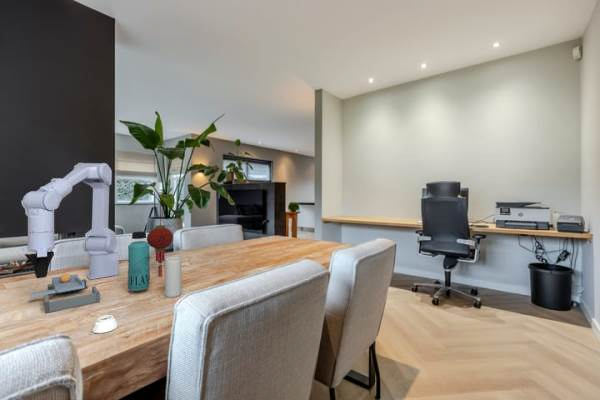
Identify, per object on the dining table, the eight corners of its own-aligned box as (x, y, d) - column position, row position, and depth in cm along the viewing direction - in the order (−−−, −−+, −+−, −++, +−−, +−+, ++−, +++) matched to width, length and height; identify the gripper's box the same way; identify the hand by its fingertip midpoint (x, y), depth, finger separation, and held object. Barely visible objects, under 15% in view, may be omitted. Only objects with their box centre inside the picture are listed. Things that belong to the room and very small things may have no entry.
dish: (94, 294, 90) (94, 285, 90) (99, 302, 84) (99, 292, 84) (44, 304, 82) (44, 294, 82) (45, 313, 75) (45, 303, 75)
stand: (86, 285, 98) (86, 278, 98) (87, 288, 95) (87, 280, 95) (46, 292, 91) (46, 284, 91) (46, 295, 88) (46, 287, 88)
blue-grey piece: (77, 282, 102) (77, 274, 102) (84, 288, 89) (84, 279, 89) (29, 290, 93) (29, 281, 94) (29, 298, 81) (29, 287, 81)
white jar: (122, 326, 69) (107, 323, 70) (122, 314, 69) (107, 312, 70) (103, 336, 64) (87, 333, 66) (103, 323, 64) (87, 320, 66)
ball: (70, 282, 100) (70, 273, 101) (71, 280, 98) (71, 272, 99) (59, 283, 98) (59, 275, 99) (60, 282, 96) (60, 273, 97)
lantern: (175, 277, 109) (175, 200, 109) (147, 281, 104) (148, 200, 103) (170, 271, 117) (171, 200, 117) (145, 275, 112) (145, 200, 111)
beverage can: (184, 294, 91) (184, 257, 91) (173, 299, 87) (173, 260, 87) (172, 292, 93) (172, 256, 93) (161, 297, 88) (161, 259, 88)
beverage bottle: (126, 296, 88) (126, 233, 88) (128, 290, 94) (128, 230, 94) (149, 293, 91) (150, 232, 91) (150, 287, 97) (150, 230, 97)
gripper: (22, 230, 85) (22, 274, 86) (21, 235, 75) (21, 286, 75) (53, 228, 90) (53, 270, 91) (56, 233, 80) (56, 280, 80)
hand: (41, 277), depth 83 cm, fingers closed
